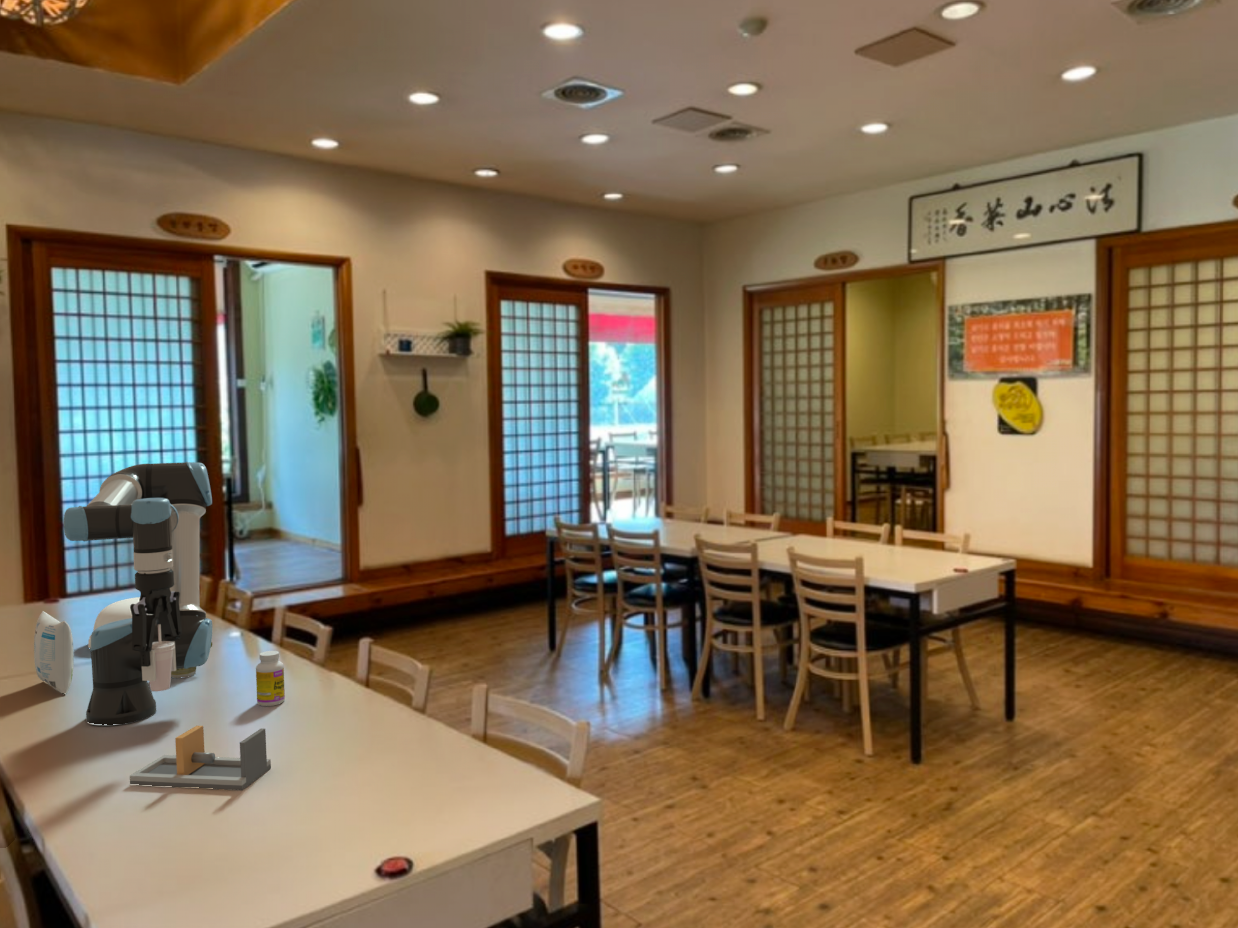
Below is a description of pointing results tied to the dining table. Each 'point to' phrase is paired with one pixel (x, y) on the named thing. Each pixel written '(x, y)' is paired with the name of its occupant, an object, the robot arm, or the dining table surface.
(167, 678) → the smoothie
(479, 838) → the dining table surface
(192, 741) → the pusher
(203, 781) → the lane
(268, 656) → the supplement bottle
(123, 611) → the dome cover
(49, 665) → the pouch
